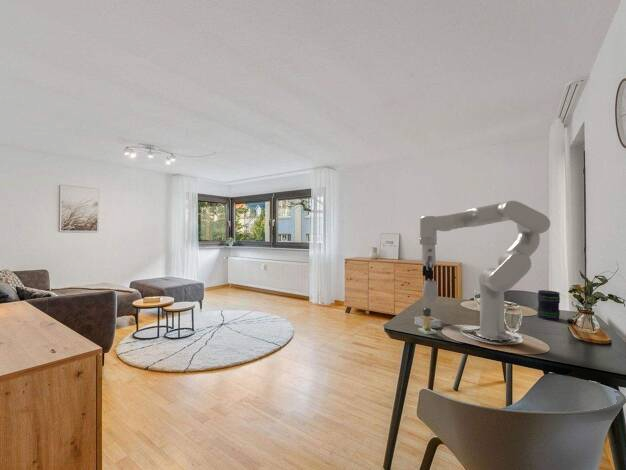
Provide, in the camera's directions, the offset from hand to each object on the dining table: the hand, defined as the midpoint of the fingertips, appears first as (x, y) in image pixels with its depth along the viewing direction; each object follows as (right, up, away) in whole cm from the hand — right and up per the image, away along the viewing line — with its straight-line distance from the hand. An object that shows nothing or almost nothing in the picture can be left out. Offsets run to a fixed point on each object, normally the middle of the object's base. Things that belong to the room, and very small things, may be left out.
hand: (427, 277), depth 145 cm
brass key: (0, -25, 0) cm, 25 cm away
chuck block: (+3, -26, +12) cm, 29 cm away
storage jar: (+78, -27, +25) cm, 86 cm away
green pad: (0, -26, 0) cm, 26 cm away
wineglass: (+10, -26, +22) cm, 36 cm away
